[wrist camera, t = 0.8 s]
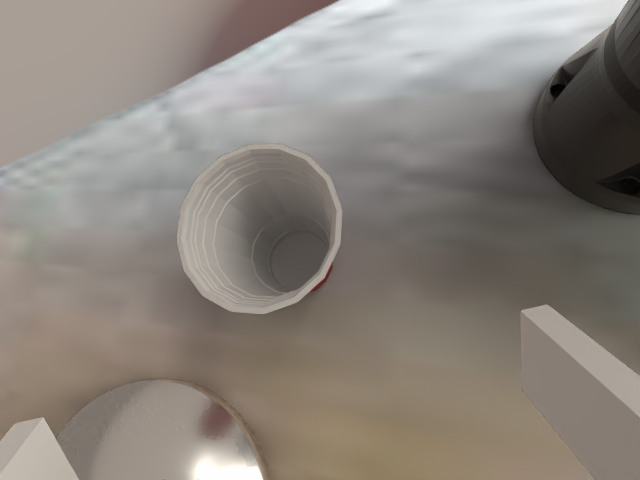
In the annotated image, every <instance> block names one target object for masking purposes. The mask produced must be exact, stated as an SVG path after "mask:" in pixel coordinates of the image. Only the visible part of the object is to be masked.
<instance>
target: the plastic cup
mask: <svg viewBox="0 0 640 480" xmlns="http://www.w3.org/2000/svg"><path fill="white" fill-rule="evenodd" d="M342 211H343V209H342V207H341V204H340V201H339V198H338V196H337V193H336V190H335V187H334V184H333V182H332V179H331V177H330V176H329V175H328V174H327V173H326V172H325V171H324V170H323V169H322V168H321V167H320V166H319V165H318V164H317V163H316V162H315V161H314V160H313V159H312V158H311V157H310V156H309V155H307V154H305V153H302V152H300V151H297V150H294V149H292V148H289V147H287V146H284V145H282V144H251V145H247V146H244V147H242V148H239V149H237V150H235V151H232V152H230V153H228V154H225V155H223V156H220V157H219V158H218V159H217V160H216V161H215V162H213V163H212V164H211V165H210V166H209V167H208V168H207V169H206V170H205V171H204V172H203V173H202V174H201V175H199V176H198V177H197V178H196V179H195V181H194V183H193V185H192V187H191V189H190V191H189V193H188V195H187V197H186V199H185V200H184V202H183V204H182V206H181V209H180V216H179V224H178V231H177V238H176V240H177V245H178V249H179V253H180V257H181V261H182V266H183V270H184V272H185V273H186V274H187V276H188V277H189V279H190V280H191V281H192V283H193V284H194V285H195V287H196V288H197V289H198V291H199V292H200V293H201V295H202V296H203V297H205V298H207V299H209V300H210V301H212V302H214V303H216V304H218V305H219V306H221V307H223V308H225V309H227V310H228V311H230V312H240V313H254V314H266V313H269V312H272V311H275V310H278V309H280V308H283V307H286V306H289V305H292V304H295V303H297V302H299V301H300V300H301V299H302V298H303V297H304V296H305V295H306V294H307V293H308V292H311V291H314V290H316V289H317V288H318V287H319V286H321V285H322V284H323V283H324V282H325V281H326V280H327V278H328V276H329V274H330V272H331V270H332V264H333V259H334V257H335V255H336V253H337V251H338V249H339V247H340V244H341V228H342Z"/></svg>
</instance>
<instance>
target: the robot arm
mask: <svg viewBox="0 0 640 480" xmlns="http://www.w3.org/2000/svg"><path fill="white" fill-rule="evenodd" d="M533 128H534V138H535V143H536V146H537V149H538V152H539V154H540V156H541V158H542V160H543V162H544V163H545V165H546V167H547V168H548V169H549V171H550V172H551V173H552V174H553V175H554V177H555V178H556V179H557V180H558V181H559V182H560V183H561V184H563V185H564V186H565V187H566V188H568V189H569V190H570V191H572V192H573V193H575V194H576V195H578V196H579V197H581V198H583V199H585V200H587V201H589V202H591V203H593V204H596V205H598V206H601V207H604V208H607V209H611V210H614V211H619V212H624V213H632V214H640V0H628V1H627V3H626V4H625V6H624V8H623V9H622V11H621V13H620V14H619V16H618V17H617V19H616V20H615V22H614V23H613V24H612V25H611V26H610V27H608V28H607V29H606V30H604V31H603V32H602V33H601V34H599V35H598V36H597V37H595V38H594V39H593V40H592V41H590V42H589V43H588V44H586V45H585V46H584V47H583V48H581V49H580V50H579V51H578V52H576V53H575V54H574V55H572V56H571V57H570V58H569V59H568V60H567V61H565V62H564V63H563V65H562V66H561V67H560V68H559V69H558V70H557V71H556V73H555V74H554V75H553V77H552V78H551V80H550V81H549V83H548V85H547V87H546V88H545V90H544V92H543V94H542V96H541V97H540V99H539V102H538V104H537V107H536V111H535V115H534V125H533ZM520 324H521V363H522V391H523V392H524V393H525V394H526V396H527V397H528V398H529V399H530V400H531V402H532V403H533V404H534V405H535V407H536V408H537V409H538V410H539V411H540V413H541V414H542V415H543V416H544V418H545V419H546V420H547V421H548V422H549V424H550V425H551V426H552V427H553V428H554V430H555V431H556V432H557V433H558V435H559V436H560V437H561V438H562V439H563V441H564V442H565V443H566V444H567V446H568V447H569V448H570V449H571V450H572V452H573V453H574V454H575V455H576V457H577V458H578V459H579V460H580V461H581V463H582V464H583V465H584V466H585V467H586V469H587V470H588V471H589V472H590V474H591V475H592V476H593V477H594V478H595V480H640V376H639V375H638V374H636V373H635V372H634V371H633V370H631V369H630V368H629V367H627V366H626V365H625V364H624V363H622V362H621V361H620V360H618V359H617V358H616V357H615V356H613V355H612V354H611V353H609V352H608V351H607V350H606V349H604V348H603V347H602V346H600V345H599V344H598V343H597V342H595V341H594V340H593V339H591V338H590V337H589V336H588V335H586V334H585V333H584V332H582V331H581V330H580V329H578V328H577V327H576V326H575V325H573V324H572V323H571V322H569V321H568V320H567V319H566V318H564V317H563V316H562V315H560V314H559V313H558V312H557V311H555V310H554V309H553V308H551V307H550V306H549V305H548V304H547V305H542V306H538V307H533V308H529V309H524V310H520ZM0 480H79V479H78V477H77V475H76V474H75V472H74V470H73V468H72V467H71V465H70V463H69V461H68V460H67V458H66V456H65V454H64V453H63V451H62V449H61V447H60V446H59V444H58V442H57V440H56V439H55V437H54V435H53V433H52V432H51V430H50V428H49V426H48V425H47V423H46V421H45V419H44V418H43V417H41V418H37V419H32V420H28V421H23V422H19V423H15V424H14V425H13V426H12V427H11V429H10V430H9V431H8V432H7V433H6V435H5V436H4V437H3V438H2V440H1V441H0Z"/></svg>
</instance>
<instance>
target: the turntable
mask: <svg viewBox="0 0 640 480" xmlns="http://www.w3.org/2000/svg"><path fill="white" fill-rule="evenodd" d="M55 439H56V440H57V442H58V444H59V446H60V447H61V449H62V451H63V453H64V454H65V456H66V458H67V460H68V461H69V463H70V465H71V467H72V468H73V470H74V472H75V474H76V475H77V477H78V479H79V480H271V477H270V472H269V468H268V465H267V462H266V460H265V457H264V454H263V452H262V449H261V447H260V445H259V443H258V441H257V439H256V437H255V435H254V433H253V432H252V430H251V429H250V428H249V426H248V425H247V423H246V422H245V420H244V419H243V418H242V417H241V416H240V414H239V413H238V412H237V411H236V410H235V409H234V408H233V407H232V406H231V405H230V404H228V403H227V402H226V401H225V400H224V399H223V398H221V397H220V396H218V395H217V394H215V393H213V392H212V391H210V390H209V389H206V388H204V387H202V386H199V385H197V384H194V383H190V382H186V381H182V380H174V379H156V380H146V381H139V382H134V383H129V384H125V385H122V386H120V387H117V388H114V389H112V390H110V391H108V392H106V393H104V394H102V395H100V396H98V397H97V398H95V399H94V400H93V401H91V402H90V403H88V404H87V405H85V406H84V407H83V408H82V409H81V410H80V411H79V412H78V413H76V414H75V415H74V416H73V417H72V418H71V420H70V421H69V422H68V423H67V424H66V425H65V426H64V427H63V429H62V430H61V431H60V433H59V434H58V436H57V437H56V438H55Z"/></svg>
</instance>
